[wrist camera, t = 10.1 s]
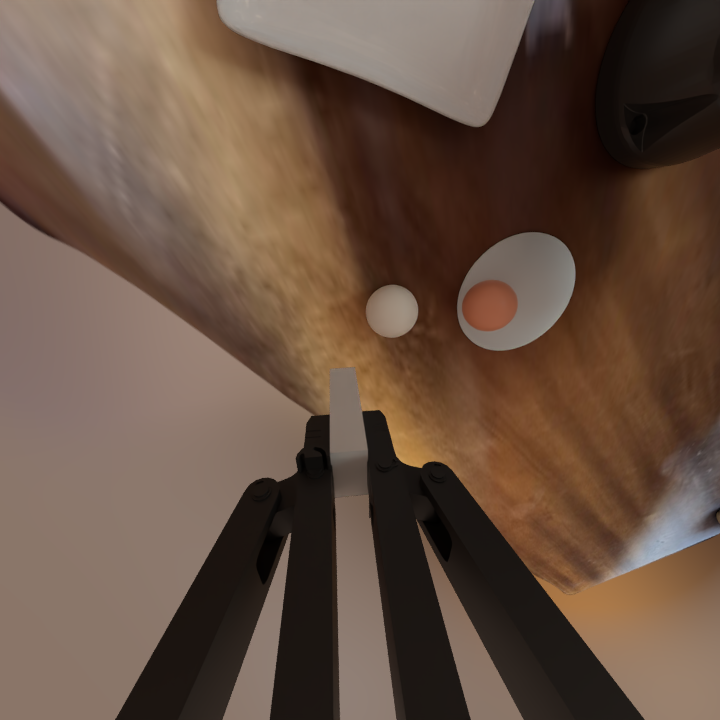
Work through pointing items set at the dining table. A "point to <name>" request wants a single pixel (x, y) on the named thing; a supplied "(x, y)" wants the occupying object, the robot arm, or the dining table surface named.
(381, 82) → the salad plate
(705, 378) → the dining table surface
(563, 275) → the oval plate
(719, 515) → the ceramic mug
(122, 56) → the dining table surface
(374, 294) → the ivory ball
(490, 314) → the coral ball
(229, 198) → the dining table surface
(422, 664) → the robot arm
